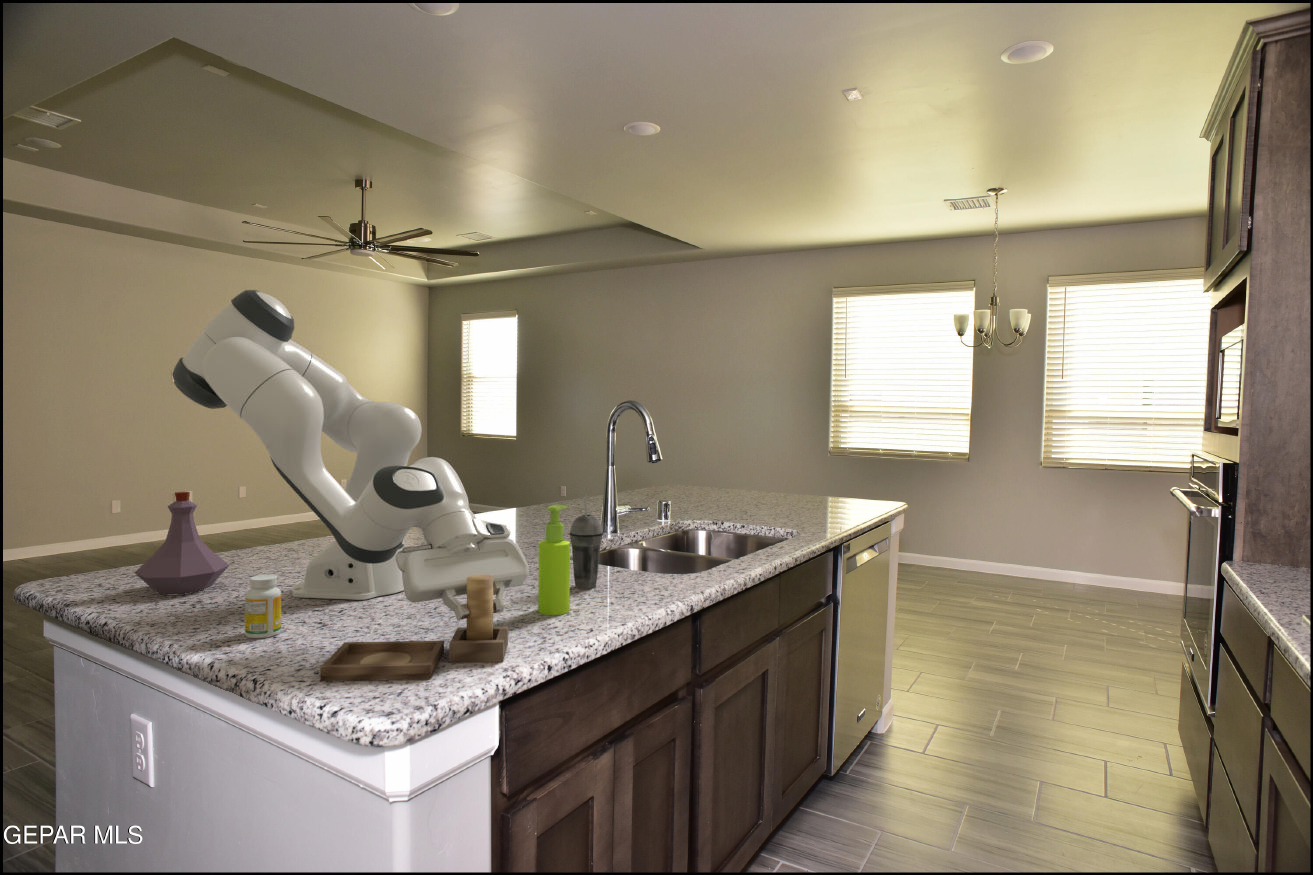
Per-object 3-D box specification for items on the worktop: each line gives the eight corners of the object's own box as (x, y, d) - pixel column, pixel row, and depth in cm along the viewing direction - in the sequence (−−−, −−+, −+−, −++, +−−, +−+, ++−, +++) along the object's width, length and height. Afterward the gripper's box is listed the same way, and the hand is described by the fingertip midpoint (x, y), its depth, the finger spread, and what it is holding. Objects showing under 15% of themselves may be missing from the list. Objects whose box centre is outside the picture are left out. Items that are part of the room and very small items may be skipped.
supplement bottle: (253, 641, 120) (252, 582, 120) (239, 634, 124) (239, 577, 123) (287, 633, 125) (286, 577, 124) (273, 627, 128) (273, 571, 128)
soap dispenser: (576, 607, 144) (578, 504, 143) (560, 616, 137) (562, 508, 136) (549, 604, 145) (550, 502, 145) (532, 613, 139) (533, 507, 138)
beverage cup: (605, 583, 163) (606, 492, 162) (599, 591, 156) (600, 496, 155) (572, 582, 164) (573, 491, 163) (565, 590, 156) (566, 495, 156)
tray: (320, 681, 104) (320, 667, 103) (344, 654, 114) (344, 642, 114) (430, 678, 105) (430, 665, 105) (444, 653, 116) (444, 640, 116)
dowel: (464, 658, 114) (465, 580, 113) (468, 649, 118) (468, 574, 117) (491, 657, 114) (491, 580, 114) (494, 649, 118) (494, 574, 118)
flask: (186, 577, 162) (185, 486, 161) (248, 583, 158) (247, 489, 157) (113, 595, 146) (112, 494, 145) (179, 603, 142) (178, 499, 141)
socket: (449, 662, 112) (449, 643, 112) (457, 645, 120) (457, 627, 120) (503, 661, 113) (503, 642, 113) (508, 644, 121) (508, 626, 120)
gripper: (397, 537, 114) (422, 614, 107) (516, 524, 127) (545, 593, 120) (387, 560, 118) (410, 637, 111) (504, 546, 131) (531, 614, 124)
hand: (481, 614), depth 115 cm, fingers open, 5 cm apart
